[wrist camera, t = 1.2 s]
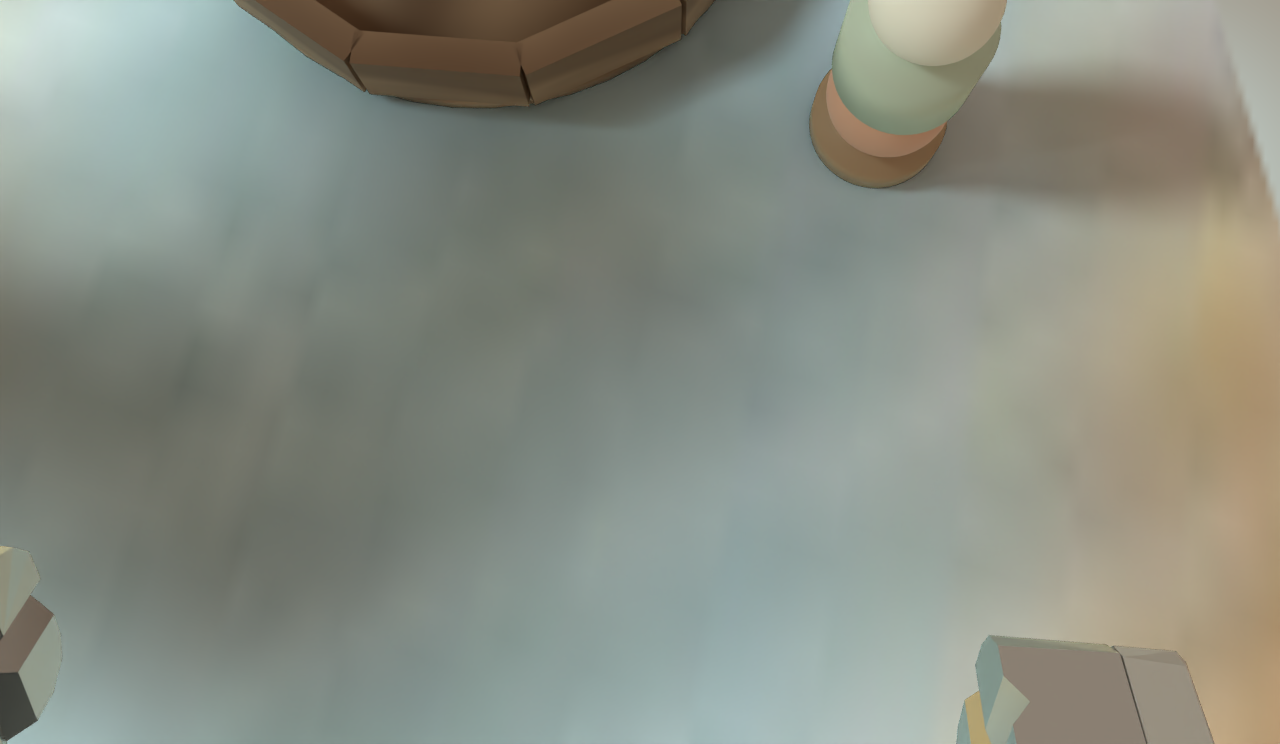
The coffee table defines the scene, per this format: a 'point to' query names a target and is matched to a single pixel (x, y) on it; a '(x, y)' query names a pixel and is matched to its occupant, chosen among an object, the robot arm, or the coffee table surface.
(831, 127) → the bead column
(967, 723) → the robot arm
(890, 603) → the coffee table surface
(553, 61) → the walnut tray
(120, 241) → the coffee table surface
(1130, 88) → the coffee table surface
